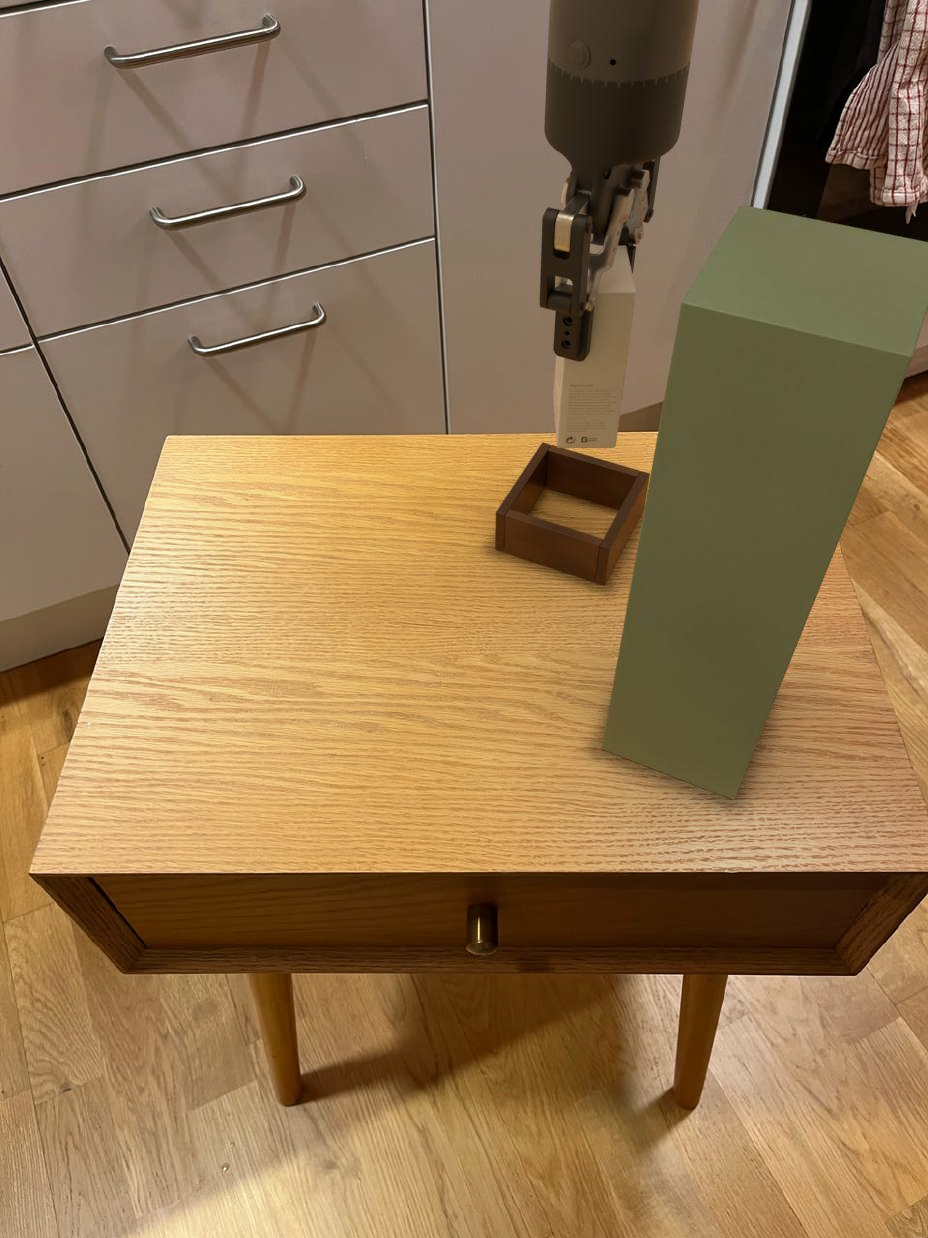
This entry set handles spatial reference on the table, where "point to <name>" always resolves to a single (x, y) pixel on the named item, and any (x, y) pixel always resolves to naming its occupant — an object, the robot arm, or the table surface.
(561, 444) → the cosmetic box
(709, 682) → the pedestal
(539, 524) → the holder
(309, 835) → the table surface
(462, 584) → the table surface
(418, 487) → the table surface
